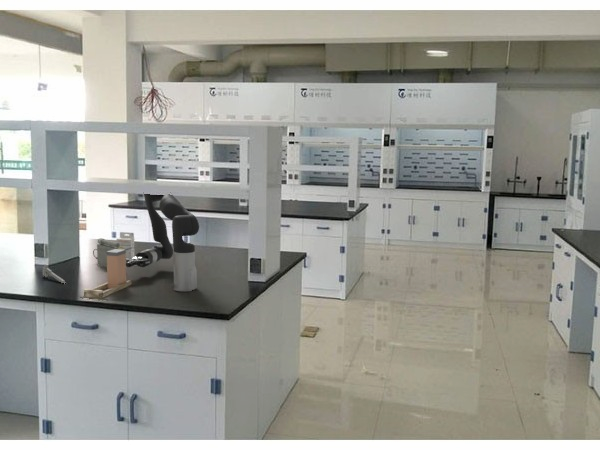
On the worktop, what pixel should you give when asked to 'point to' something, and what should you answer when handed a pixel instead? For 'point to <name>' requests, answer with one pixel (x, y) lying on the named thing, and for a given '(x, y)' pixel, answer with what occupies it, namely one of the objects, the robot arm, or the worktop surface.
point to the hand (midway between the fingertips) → (127, 265)
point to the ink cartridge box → (127, 244)
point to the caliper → (51, 274)
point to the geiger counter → (104, 250)
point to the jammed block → (116, 267)
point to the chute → (99, 292)
